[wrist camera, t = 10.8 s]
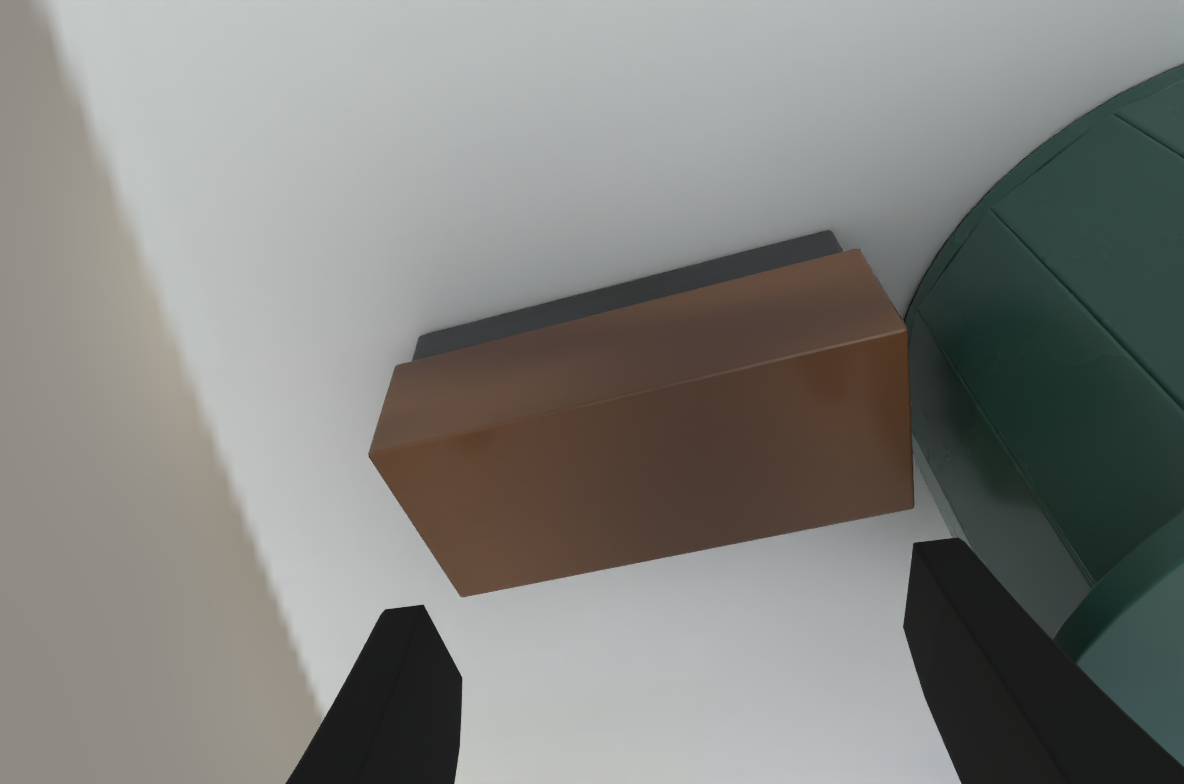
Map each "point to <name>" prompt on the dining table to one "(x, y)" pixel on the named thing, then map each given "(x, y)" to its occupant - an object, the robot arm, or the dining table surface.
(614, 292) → the brown rectangular block
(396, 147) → the dining table surface
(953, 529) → the pot
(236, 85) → the dining table surface
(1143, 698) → the pot lid
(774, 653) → the dining table surface
